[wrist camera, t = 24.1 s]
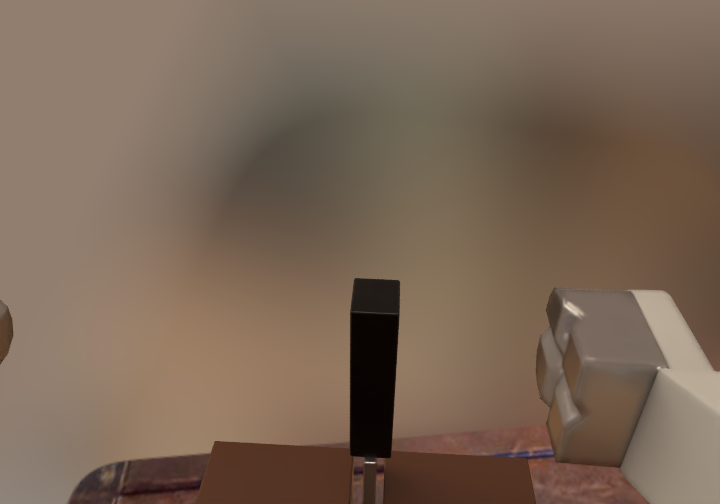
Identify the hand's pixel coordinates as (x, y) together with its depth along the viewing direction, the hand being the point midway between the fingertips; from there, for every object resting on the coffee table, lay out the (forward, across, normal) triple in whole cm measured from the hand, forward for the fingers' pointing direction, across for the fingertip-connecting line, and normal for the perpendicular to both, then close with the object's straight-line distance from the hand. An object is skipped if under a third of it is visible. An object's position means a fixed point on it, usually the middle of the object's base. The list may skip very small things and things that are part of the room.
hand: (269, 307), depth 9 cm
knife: (+14, -2, +29) cm, 33 cm away
